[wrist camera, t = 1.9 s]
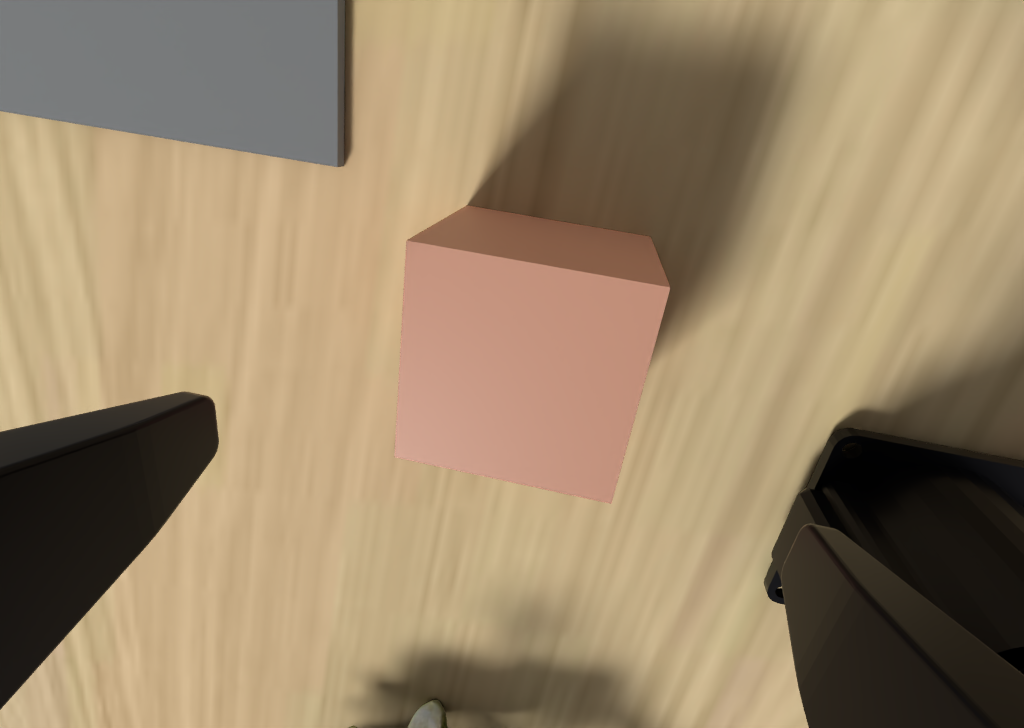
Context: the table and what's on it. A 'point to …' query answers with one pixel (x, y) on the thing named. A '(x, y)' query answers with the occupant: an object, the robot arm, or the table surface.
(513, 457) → the cube
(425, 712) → the passion flower
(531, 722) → the table surface
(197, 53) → the mat
